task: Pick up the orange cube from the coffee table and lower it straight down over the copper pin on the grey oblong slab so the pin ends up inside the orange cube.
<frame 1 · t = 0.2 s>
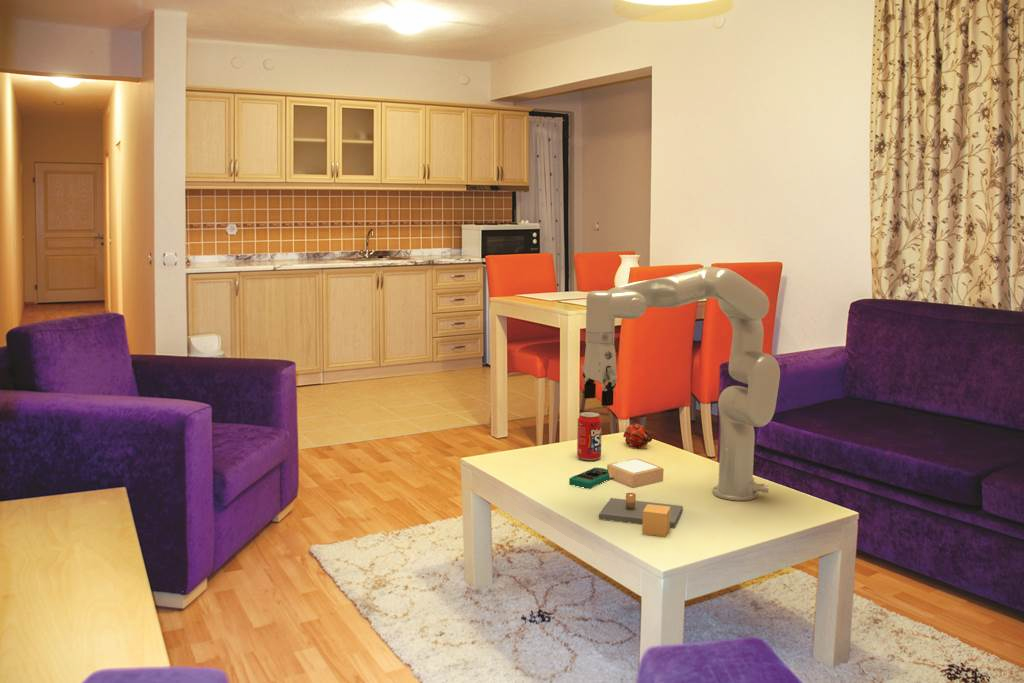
hand: (598, 401, 241), 31 cm above the table, tool pointing down, fingers open, 9 cm apart
pin: (630, 513, 245), resting on grey oblong slab
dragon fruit: (637, 447, 314), on the table
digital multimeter: (591, 483, 274), on the table
soda can: (589, 459, 298), on the table
orange cube: (656, 531, 232), on the table
grey oblong slab: (641, 515, 244), on the table
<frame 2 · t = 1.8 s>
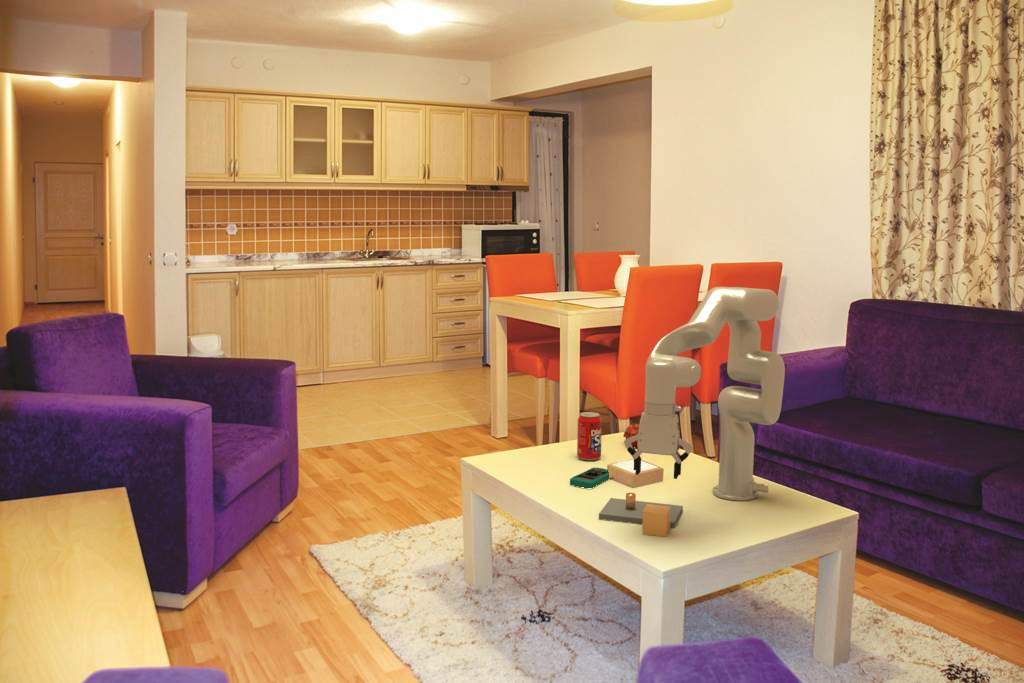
hand: (656, 475, 229), 15 cm above the table, tool pointing down, fingers open, 9 cm apart
nothing on the table moved.
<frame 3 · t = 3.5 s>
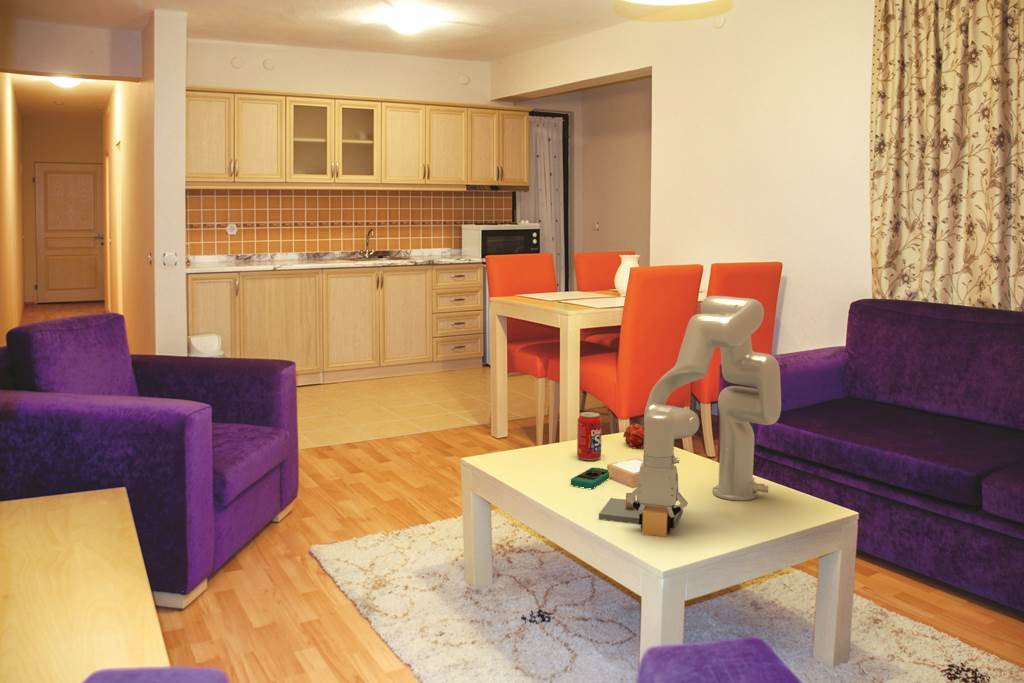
hand: (656, 528, 232), 1 cm above the table, tool pointing down, fingers closed on orange cube, 5 cm apart
orange cube: (656, 531, 232), on the table, touching gripper
everything else where it was.
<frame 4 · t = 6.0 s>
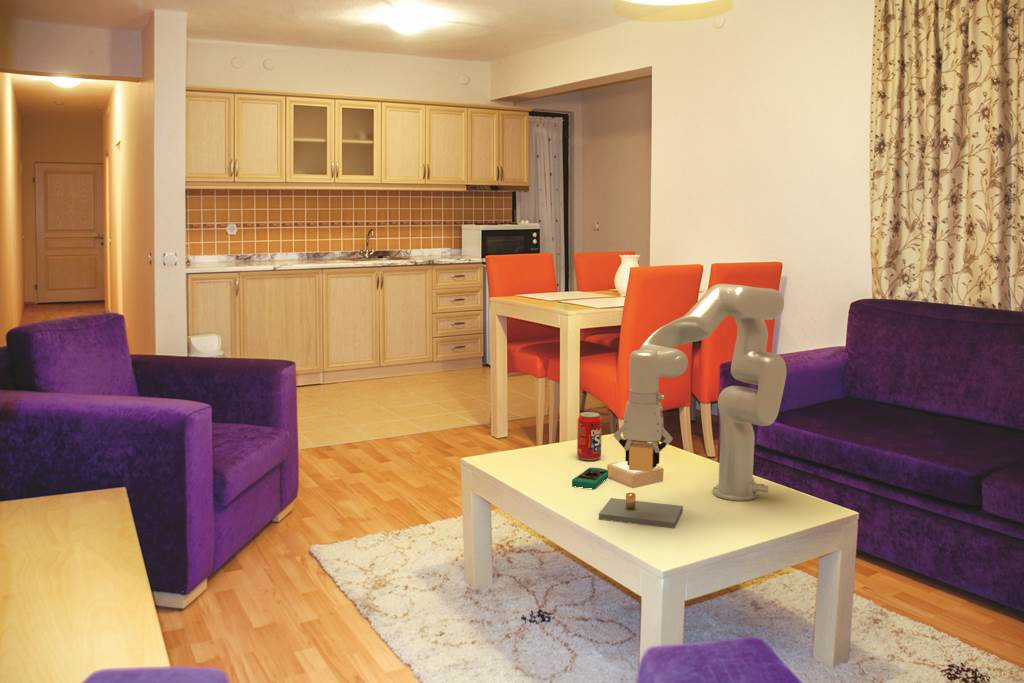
hand: (642, 464, 237), 15 cm above the table, tool pointing down, fingers closed on orange cube, 5 cm apart
orange cube: (642, 467, 238), point 14 cm above the table, touching gripper
everything else where it was.
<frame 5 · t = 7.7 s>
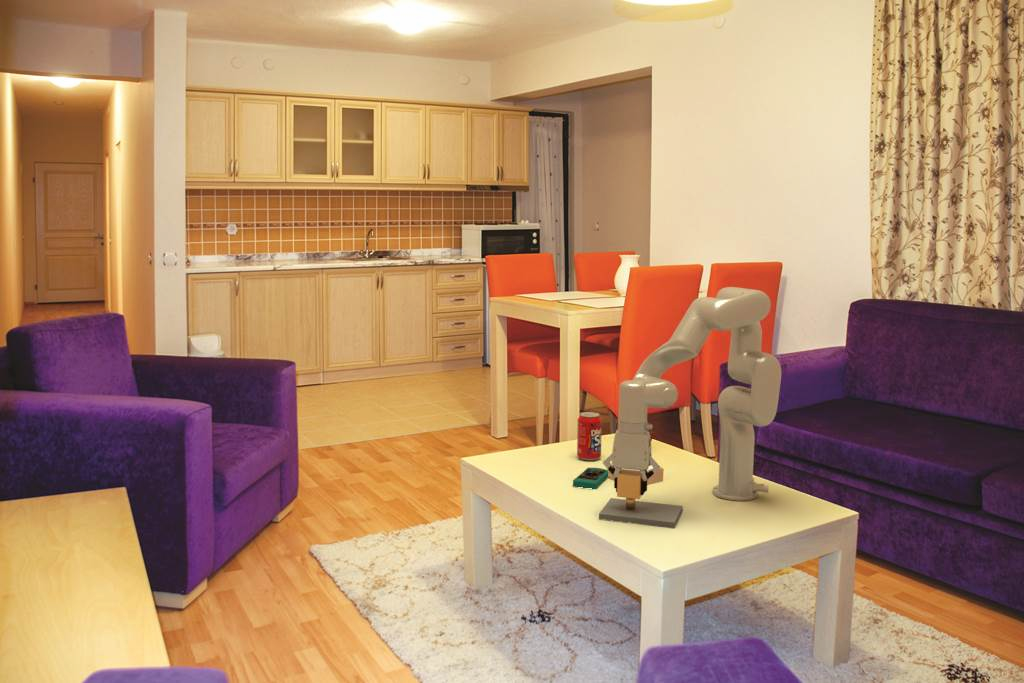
hand: (630, 491, 244), 6 cm above the table, tool pointing down, fingers closed on orange cube, 5 cm apart
orange cube: (630, 494, 244), point 5 cm above the table, touching gripper
when the fingers open (3 cm above the table, at t = 8.7 s): orange cube stays where it is, resting on grey oblong slab.
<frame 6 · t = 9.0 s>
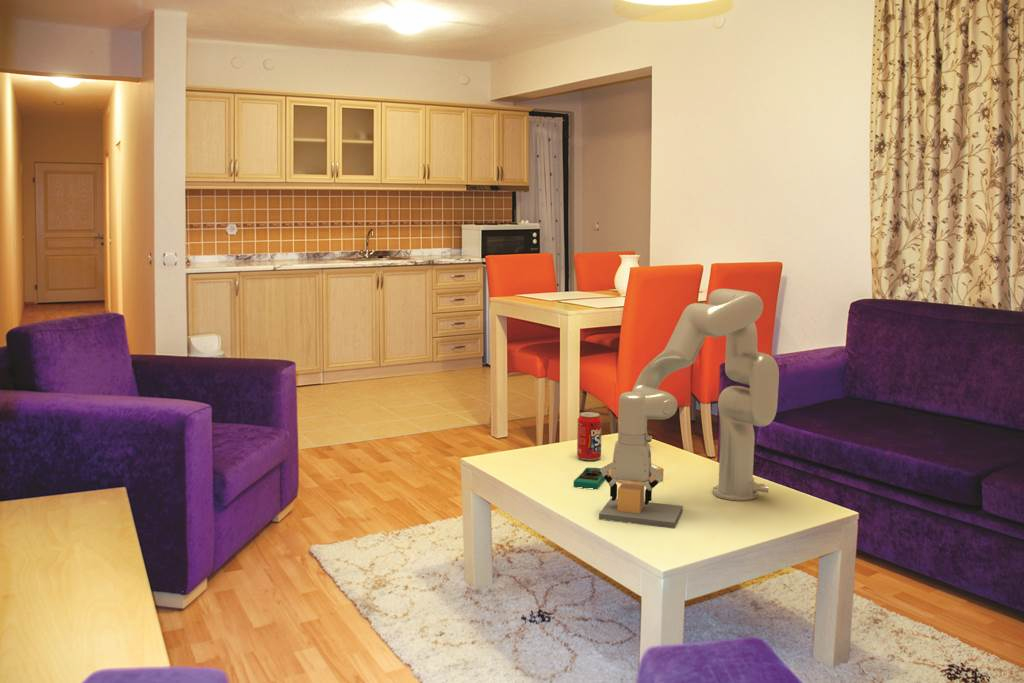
hand: (630, 501, 244), 4 cm above the table, tool pointing down, fingers open, 8 cm apart
orange cube: (630, 508, 245), point 1 cm above the table, touching grey oblong slab
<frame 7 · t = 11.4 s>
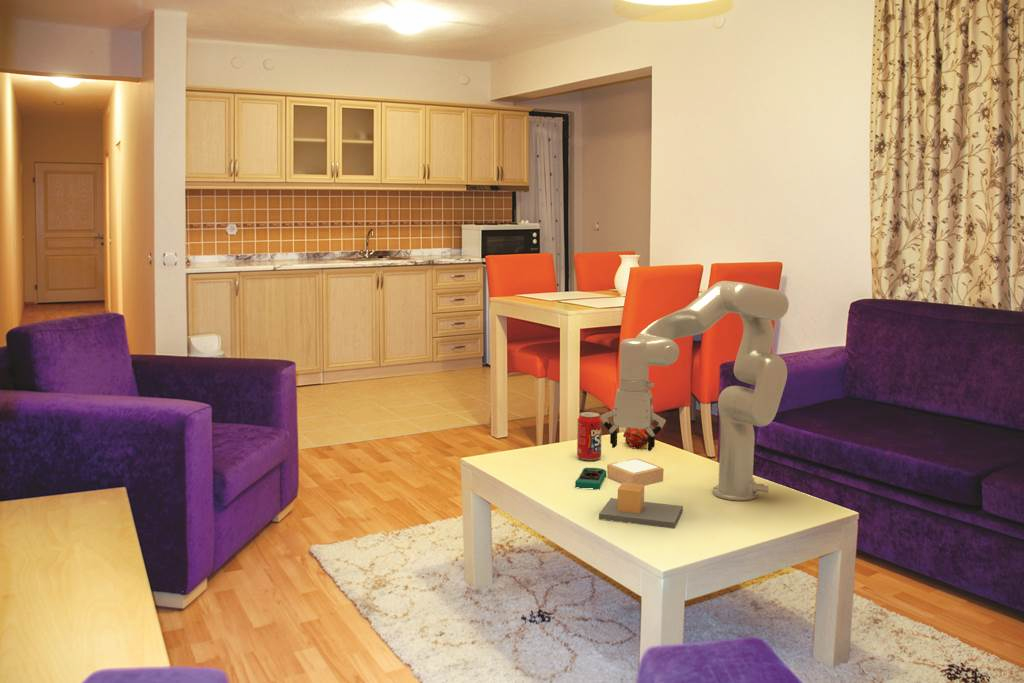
hand: (632, 448, 242), 18 cm above the table, tool pointing down, fingers open, 9 cm apart
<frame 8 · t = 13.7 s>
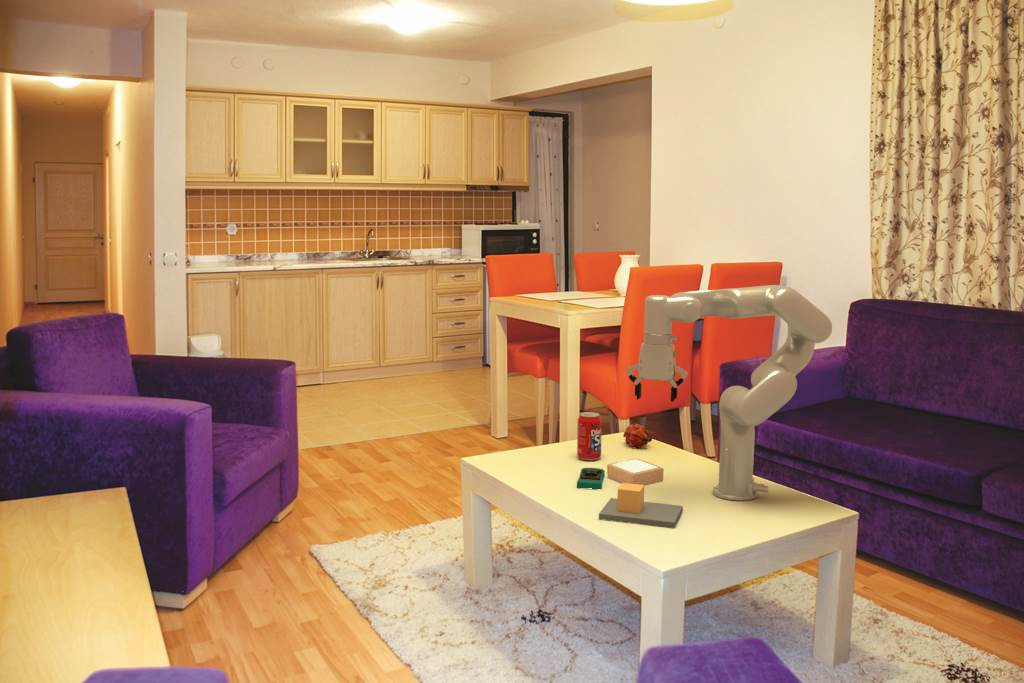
hand: (655, 399, 256), 28 cm above the table, tool pointing down, fingers open, 9 cm apart
at the end: orange cube 0.1 cm from the target spot on the grey oblong slab, point 1.5 cm above the grey oblong slab's base; orange cube tilted 0°; the gripper is holding nothing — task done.
